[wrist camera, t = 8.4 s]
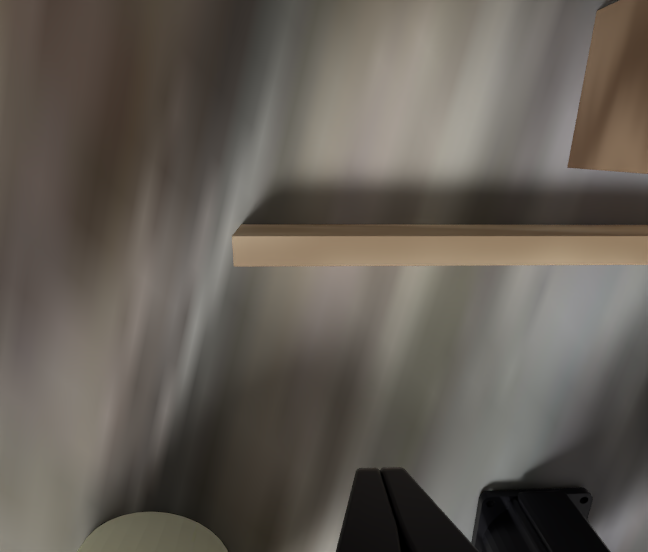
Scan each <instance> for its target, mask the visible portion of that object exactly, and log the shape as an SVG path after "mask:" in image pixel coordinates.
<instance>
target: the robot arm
mask: <svg viewBox="0 0 648 552" xmlns="http://www.w3.org/2000/svg"><path fill="white" fill-rule="evenodd" d="M592 498H593V497H592V496H591V494H590V493H589V492H588V491H587V489H585V488H560V489H532V490H504V491H486V492H484V493H482V494H481V495H480V497H479V501H478V507H477V513H476V519H475V525H474V531H473V537H472V543H471V542H470V541H469V540H468V539H467V538H466V537H465V536H464V534H463V533H462V532H461V531H460V530H459V529H458V528H457V527H456V526H455V525H454V523H453V522H452V521H451V520H450V519H449V518H448V517H447V516H446V515H445V513H444V512H443V511H442V510H441V509H440V508H439V507H438V506H437V505H436V504H435V502H434V501H433V500H432V499H431V498H430V497H429V496H428V495H427V494H426V492H425V491H424V490H423V489H422V488H421V487H420V486H419V485H418V484H417V483H416V481H415V480H414V479H413V478H412V477H411V476H410V475H409V474H408V473H407V471H406V470H405V469H403V468H401V467H384V468H382V469H380V471H379V469H377V468H359V469H357V471H356V473H355V477H354V481H353V485H352V489H351V493H350V497H349V501H348V505H347V509H346V513H345V517H344V521H343V525H342V529H341V533H340V537H339V541H338V545H337V549H336V552H611V551H610V550H609V549H608V548H607V546H606V545H605V544H604V542H603V541H602V540H601V538H600V537H599V536H598V534H597V533H596V532H595V531H594V529H593V528H592V527H591V525H590V524H589V523H588V521H587V518H588V514H589V511H590V507H591V503H592Z"/></svg>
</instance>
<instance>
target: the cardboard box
mask: <svg viewBox="0 0 648 552" xmlns="http://www.w3.org/2000/svg"><path fill="white" fill-rule="evenodd" d="M567 168H580V169H593V170H605V171H618V172H631V173H644V174H648V0H619V1H617V2H615V3H613V4H611V5H609V6H606V7H604V8H602V9H600V10H598V11H597V13H596V18H595V24H594V29H593V34H592V40H591V45H590V50H589V56H588V61H587V66H586V71H585V77H584V82H583V87H582V93H581V98H580V103H579V109H578V114H577V119H576V125H575V130H574V135H573V141H572V146H571V151H570V156H569V162H568V167H567Z"/></svg>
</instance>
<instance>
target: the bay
mask: <svg viewBox="0 0 648 552" xmlns="http://www.w3.org/2000/svg"><path fill="white" fill-rule="evenodd" d="M232 245H233V261H234V266H442V265H648V225H423V224H241V225H240V227H239V228H238V229H237V231H236V232H235V233H234V234H233V236H232Z"/></svg>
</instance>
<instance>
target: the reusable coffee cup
mask: <svg viewBox="0 0 648 552" xmlns="http://www.w3.org/2000/svg"><path fill="white" fill-rule="evenodd" d="M77 552H228V551H227V549H226V547H225V546H224V544H223V543H222V541H221V540H220V539H219V538H218V537H217V536H216V535H215V534H214V533H213V532H212V531H211V530H209V529H207V528H206V527H204V526H203V525H201V524H200V523H198V522H195V521H193V520H191V519H188V518H186V517H183V516H179V515H175V514H171V513H163V512H137V513H132V514H127V515H122V516H120V517H117V518H114V519H112V520H109V521H107V522H106V523H104V524H102V525H101V526H99V527H98V528H96V529H95V530H94V531H93V532H92V533H91V534H90V535H89V536H88V537H87V538H86V540H85V541H84V542H83V544H82V545H81V547H80V548H79V549H78V551H77Z"/></svg>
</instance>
